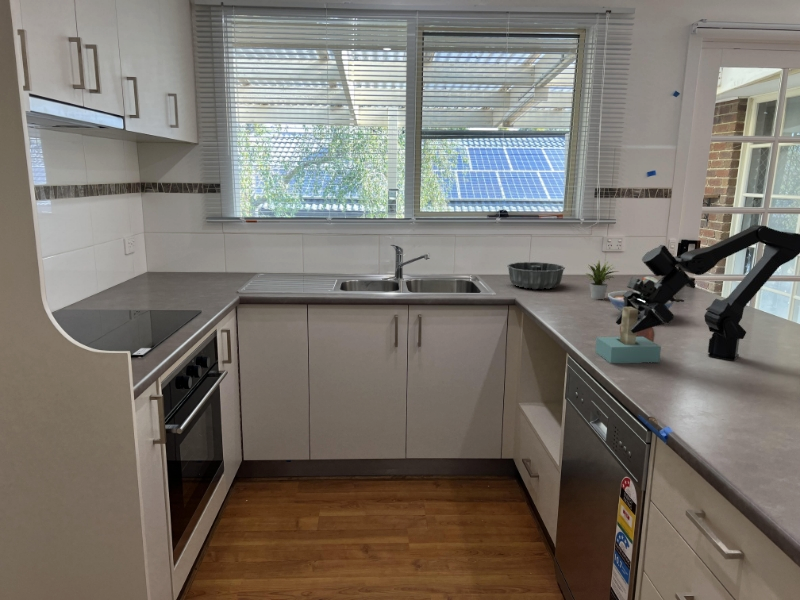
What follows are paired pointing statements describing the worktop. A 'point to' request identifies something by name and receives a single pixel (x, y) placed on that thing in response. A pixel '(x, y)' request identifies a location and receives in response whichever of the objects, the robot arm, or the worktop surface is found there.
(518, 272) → the bundt pan
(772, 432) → the worktop surface
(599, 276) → the house plant
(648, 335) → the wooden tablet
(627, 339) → the slat
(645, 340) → the end cap
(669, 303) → the ramen bowl
